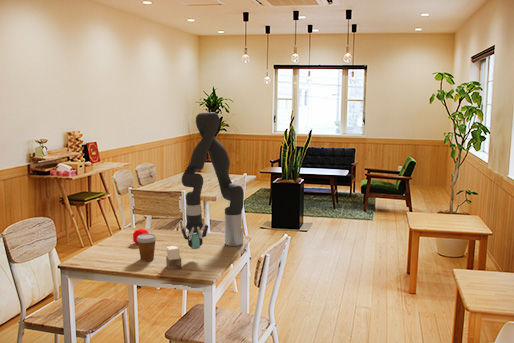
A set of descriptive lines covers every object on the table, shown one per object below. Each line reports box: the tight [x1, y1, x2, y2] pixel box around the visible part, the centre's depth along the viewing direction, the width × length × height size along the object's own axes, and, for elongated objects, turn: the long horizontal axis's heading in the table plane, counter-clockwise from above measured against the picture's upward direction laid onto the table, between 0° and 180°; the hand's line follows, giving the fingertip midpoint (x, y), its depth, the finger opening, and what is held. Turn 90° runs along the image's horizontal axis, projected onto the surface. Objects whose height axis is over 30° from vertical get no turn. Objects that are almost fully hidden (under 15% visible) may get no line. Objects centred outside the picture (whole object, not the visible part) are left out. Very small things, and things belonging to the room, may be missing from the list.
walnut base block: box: [165, 255, 182, 271], centre depth 241 cm, size 6×6×5 cm
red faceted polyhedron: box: [132, 228, 150, 245], centre depth 278 cm, size 8×8×8 cm
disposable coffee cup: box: [137, 233, 157, 262], centre depth 252 cm, size 10×10×12 cm
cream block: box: [166, 245, 181, 260], centre depth 240 cm, size 5×5×5 cm
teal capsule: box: [190, 233, 201, 250], centre depth 252 cm, size 4×4×7 cm
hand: (195, 245), depth 252 cm, fingers closed on teal capsule, 4 cm apart
